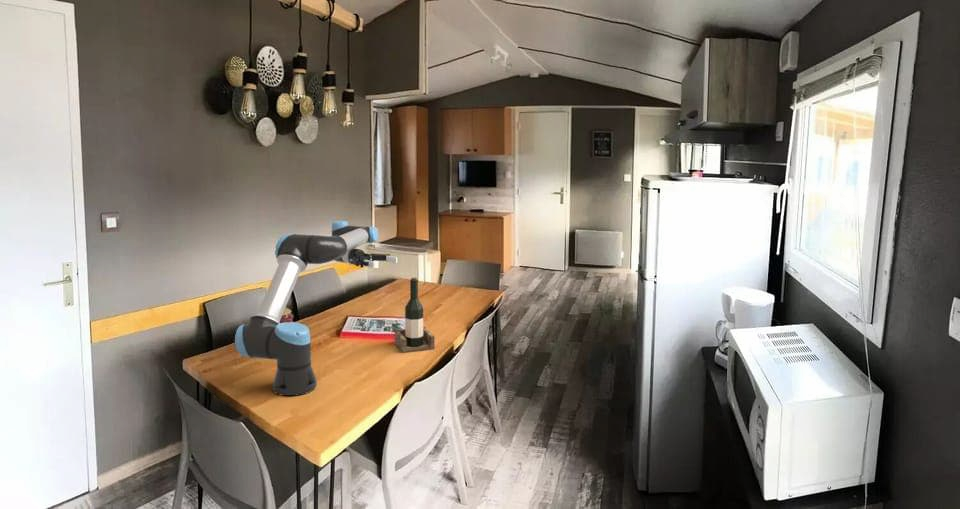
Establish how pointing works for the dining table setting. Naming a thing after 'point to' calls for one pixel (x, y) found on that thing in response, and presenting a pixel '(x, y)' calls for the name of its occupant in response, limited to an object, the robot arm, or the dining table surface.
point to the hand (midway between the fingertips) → (386, 262)
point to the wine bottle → (414, 317)
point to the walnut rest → (402, 344)
